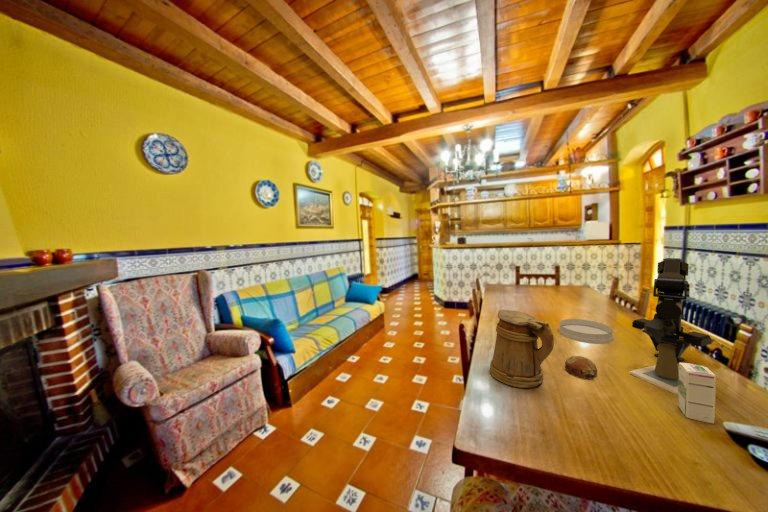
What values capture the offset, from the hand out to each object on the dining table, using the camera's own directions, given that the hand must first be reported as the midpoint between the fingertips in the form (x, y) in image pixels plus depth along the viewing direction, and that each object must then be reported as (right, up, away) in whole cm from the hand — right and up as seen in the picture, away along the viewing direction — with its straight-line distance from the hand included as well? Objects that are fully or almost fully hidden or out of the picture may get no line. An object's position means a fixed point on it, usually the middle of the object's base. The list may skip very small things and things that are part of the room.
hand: (667, 354), depth 92 cm
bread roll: (-24, -11, +9) cm, 28 cm away
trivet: (0, -10, +1) cm, 10 cm away
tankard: (-48, -12, +7) cm, 50 cm away
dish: (+3, -6, +42) cm, 43 cm away
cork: (0, -8, +1) cm, 8 cm away
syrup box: (-10, -12, -16) cm, 22 cm away
